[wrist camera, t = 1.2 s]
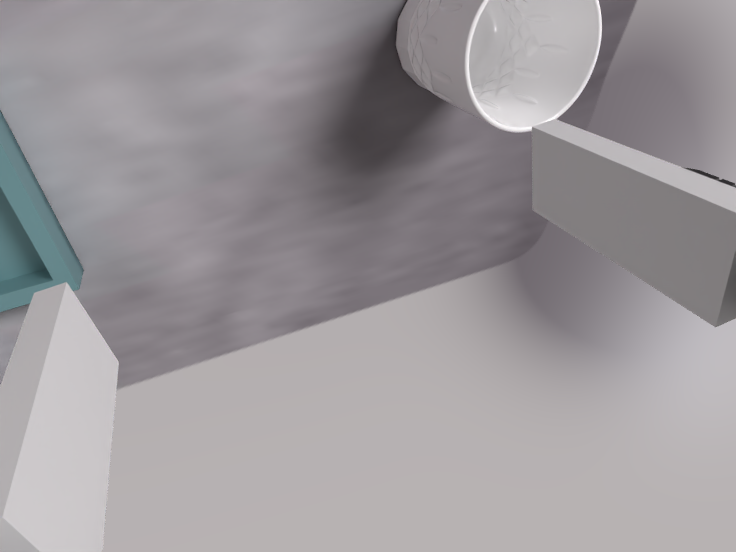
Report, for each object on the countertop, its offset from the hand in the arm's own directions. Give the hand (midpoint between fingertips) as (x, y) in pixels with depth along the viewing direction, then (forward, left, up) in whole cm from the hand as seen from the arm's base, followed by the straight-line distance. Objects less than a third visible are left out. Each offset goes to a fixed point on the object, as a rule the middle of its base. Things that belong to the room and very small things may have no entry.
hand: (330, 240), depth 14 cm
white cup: (-1, +14, -21) cm, 25 cm away
